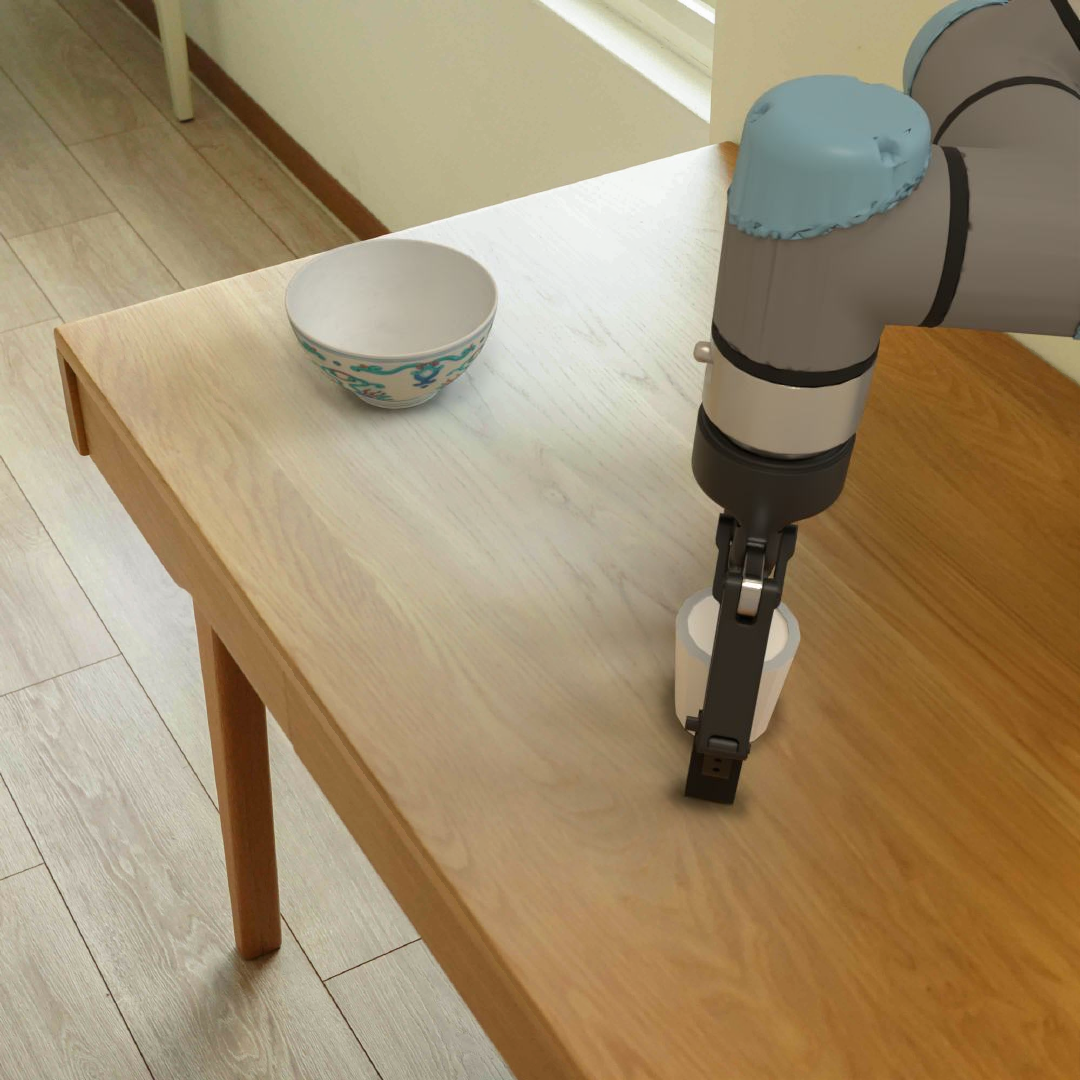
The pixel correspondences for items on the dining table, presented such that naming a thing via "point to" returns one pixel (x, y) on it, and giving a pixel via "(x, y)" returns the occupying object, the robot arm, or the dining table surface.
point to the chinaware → (392, 317)
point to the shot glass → (696, 652)
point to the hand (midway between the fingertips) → (720, 706)
